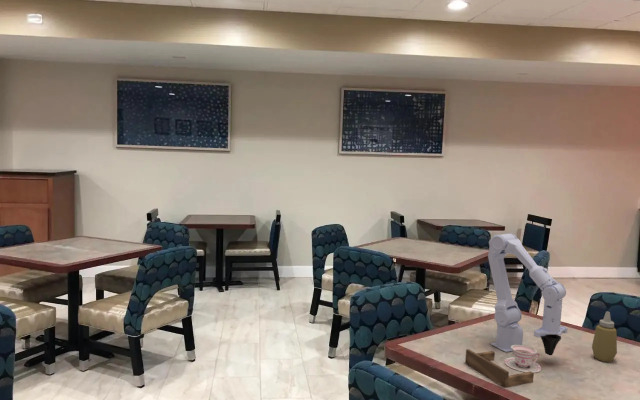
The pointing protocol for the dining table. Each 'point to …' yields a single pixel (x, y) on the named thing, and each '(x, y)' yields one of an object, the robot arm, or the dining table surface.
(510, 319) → the robot arm
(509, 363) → the teacup
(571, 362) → the dining table surface
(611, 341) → the squeeze bottle
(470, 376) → the dining table surface
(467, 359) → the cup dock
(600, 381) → the dining table surface
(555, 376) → the dining table surface
